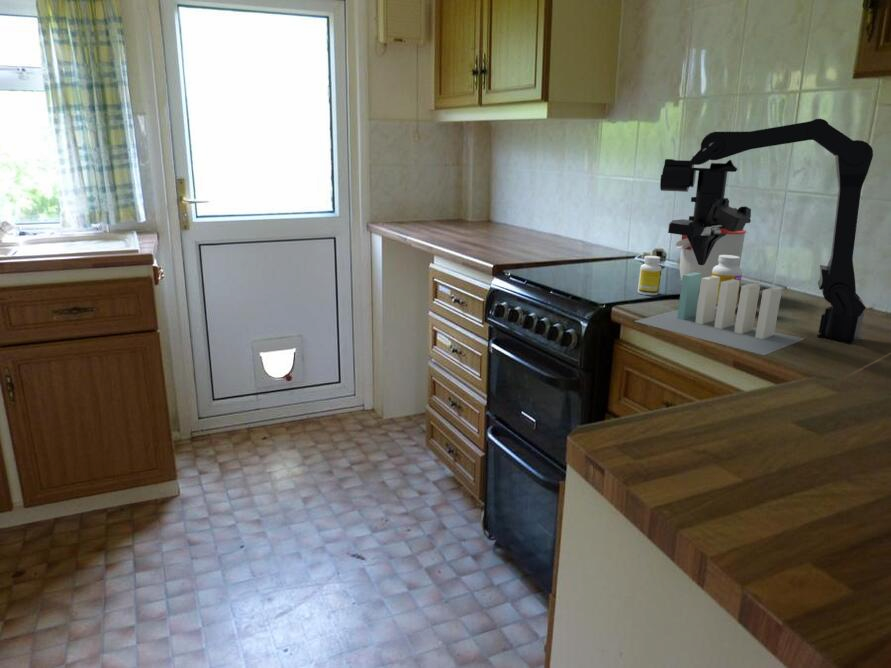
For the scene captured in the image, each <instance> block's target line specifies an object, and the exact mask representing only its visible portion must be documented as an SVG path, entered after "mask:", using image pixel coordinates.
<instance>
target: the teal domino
mask: <svg viewBox="0 0 891 668" xmlns="http://www.w3.org/2000/svg"><path fill="white" fill-rule="evenodd" d="M700 281H701V273H690V274H685V275H683V277H682V283H681V285H680V286H681V287H680V295H679V301H678V308H677V310H678V316H677V318H678V319H682V320H685V319H688V318H692V317H696V313H697V306H698V299H699V289H700Z"/></svg>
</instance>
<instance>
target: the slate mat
mask: <svg viewBox="0 0 891 668" xmlns="http://www.w3.org/2000/svg"><path fill="white" fill-rule="evenodd" d="M677 316H678V309H675V310H672V311H668V312H667V311H666V312H665V313H660V314H657V315H652V316H648V317H645V318H641V319H637V320H634V321H633V322H635V323H638V324H643V325H646V326H649V327H653V328H654V327H655V328H656V329H657V328H658V329H661V330H665V331H669V332H673V333H677V334H680V335H684V336H689V337H692V338H695V339H701V340H705V341H708V342H711V343H714V344H715V343H716V344H719V345H723V346H727V347H729V348H733V349H738V350H742V351H745V352H749V353H753V354H757V355H760V356H766V355H769V354H771V353H774V352H775V351H778V350H782V349H783V348H787V347H788V346H791V345H794V344H797V343H798V342H801V341H804V340H805V338H803V337H798V336H793V335H790V334H786V333H780V332H777V331H775V332H774V335H773V336H770V337H767V338H764V339H761V338H756V337H755V335H756V329H757V326H756V327H755V326H753V330H751V331H749V332H746V333H743V334H740V333H736V332H734V330H735V324H736V322H734V321H733V325H732V326H729V327H726V328H723V329H719V328H715V327H714V326H715V319H716V317H714V321H711V322H708V323H704V324H699V323H695V321H696V317H692V318H688V319H685V320H682V319H678V318H677Z"/></svg>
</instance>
